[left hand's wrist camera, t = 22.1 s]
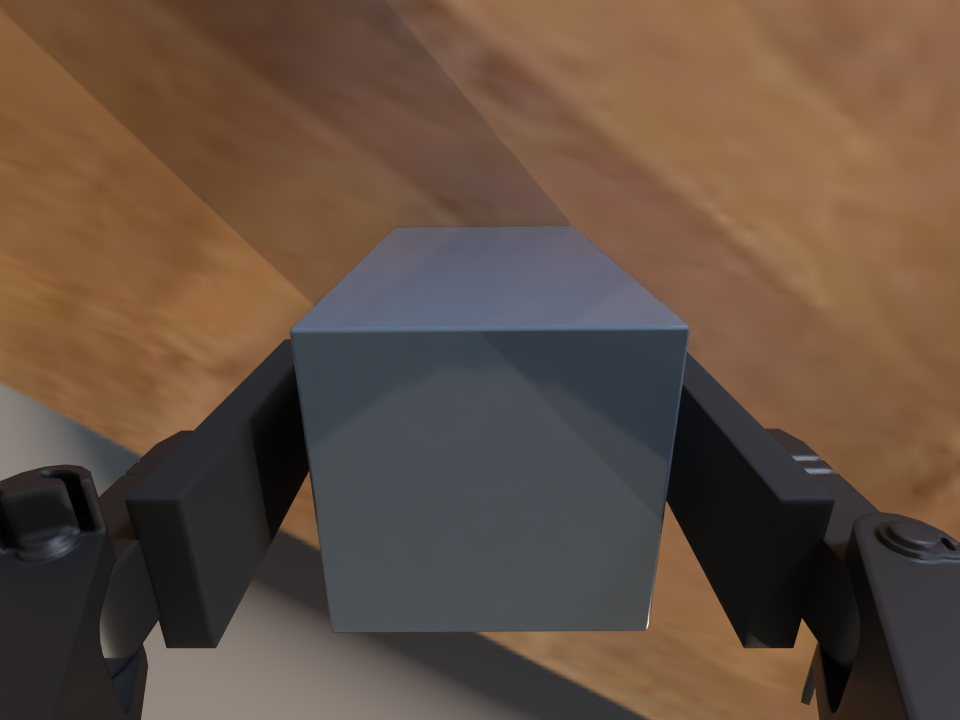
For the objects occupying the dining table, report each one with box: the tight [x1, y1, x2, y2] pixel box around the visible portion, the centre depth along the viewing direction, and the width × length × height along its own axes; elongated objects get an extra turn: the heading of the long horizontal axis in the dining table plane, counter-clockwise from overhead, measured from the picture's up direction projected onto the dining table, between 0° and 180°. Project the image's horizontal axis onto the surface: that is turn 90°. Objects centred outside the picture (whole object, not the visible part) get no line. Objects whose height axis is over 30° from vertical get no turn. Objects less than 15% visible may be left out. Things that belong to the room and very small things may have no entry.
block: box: [290, 226, 690, 633], centre depth 15 cm, size 6×6×11 cm
